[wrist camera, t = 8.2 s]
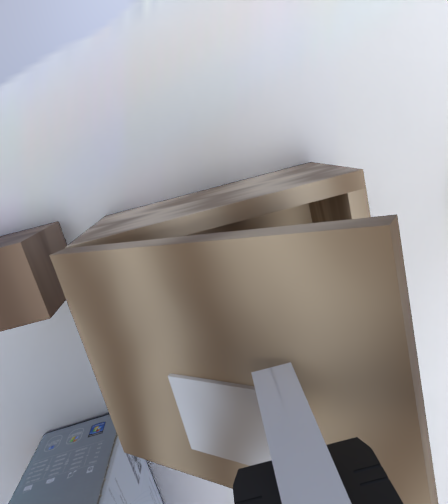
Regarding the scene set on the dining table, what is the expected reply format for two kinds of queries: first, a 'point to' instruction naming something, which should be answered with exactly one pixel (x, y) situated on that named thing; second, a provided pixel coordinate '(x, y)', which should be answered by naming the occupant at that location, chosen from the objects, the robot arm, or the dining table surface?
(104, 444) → the hard drive box
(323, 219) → the light wooden box
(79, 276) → the lid
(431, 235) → the dining table surface
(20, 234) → the walnut block
